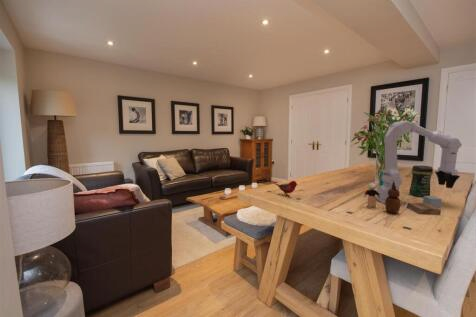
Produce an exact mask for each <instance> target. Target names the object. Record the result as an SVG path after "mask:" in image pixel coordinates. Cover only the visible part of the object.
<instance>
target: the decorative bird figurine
mask: <svg viewBox="0 0 476 317" xmlns="http://www.w3.org/2000/svg"><path fill="white" fill-rule="evenodd" d="M273 184H275V186H277V187H278V188H279V189H280V191H282V192H283V193H284V194H283V195H285V196H287V197H291V195H290V194H291V193H293V192H294V191H295V189H296V187H297V186H298V184H297V181H296V180H291V181H289V182H288V183H282V184H278V183H275V182H273Z"/></svg>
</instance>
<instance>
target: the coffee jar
mask: <svg viewBox="0 0 476 317" xmlns="http://www.w3.org/2000/svg"><path fill="white" fill-rule="evenodd" d="M433 172H434V168H433V167H432V166H430V165H413V166H412V169H411V174H412V175H411V176H412V177H411V183H410V187H409V192H408V194H410V195H411V196H414V197H415V196H416V197H419V198H423V197H424V196H431V179H432V175H433V174H434V173H433Z"/></svg>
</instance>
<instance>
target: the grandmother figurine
mask: <svg viewBox="0 0 476 317" xmlns="http://www.w3.org/2000/svg"><path fill="white" fill-rule="evenodd" d="M376 188H377V185H376V184H375V183H374V182H371V183H368V189H369V190H366V191H365V192H364V194H363V198H366V197H367V205H366V208H368V209H377V199H376V198H377V196H378V198H380V195H379V193H378V192H377V189H376ZM375 189H376V190H375Z"/></svg>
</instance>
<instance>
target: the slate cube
mask: <svg viewBox="0 0 476 317" xmlns="http://www.w3.org/2000/svg"><path fill="white" fill-rule="evenodd" d="M422 203H426V204H429V205H432V206H434V207H436V208H438V209H441V206H442V198H439V197H437V196H434V195H430V196H424V197H422Z"/></svg>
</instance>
